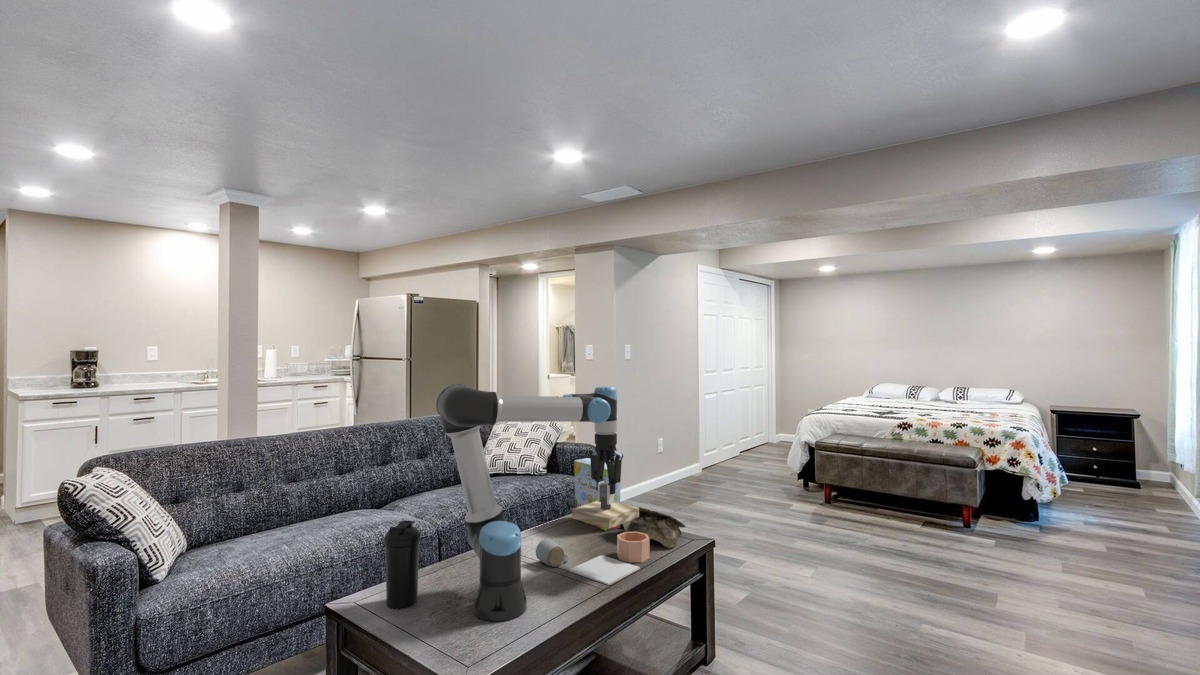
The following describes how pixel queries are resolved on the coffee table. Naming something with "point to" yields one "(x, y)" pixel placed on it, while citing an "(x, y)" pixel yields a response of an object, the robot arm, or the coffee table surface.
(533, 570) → the coffee table surface
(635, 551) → the bowl
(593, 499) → the snack box
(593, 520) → the lid
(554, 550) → the ceramic mug
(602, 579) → the mat
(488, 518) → the robot arm
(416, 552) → the water bottle
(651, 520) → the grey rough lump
